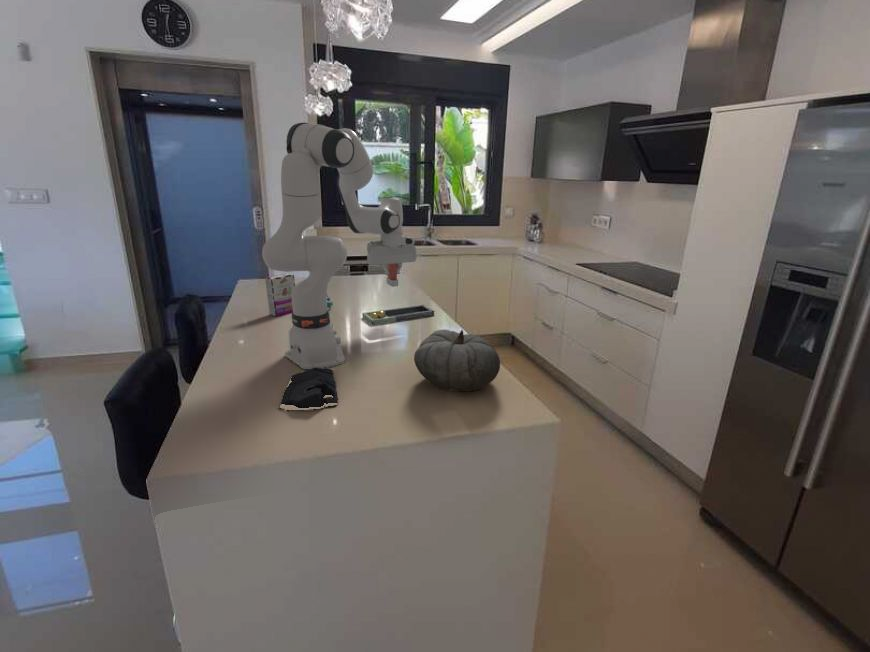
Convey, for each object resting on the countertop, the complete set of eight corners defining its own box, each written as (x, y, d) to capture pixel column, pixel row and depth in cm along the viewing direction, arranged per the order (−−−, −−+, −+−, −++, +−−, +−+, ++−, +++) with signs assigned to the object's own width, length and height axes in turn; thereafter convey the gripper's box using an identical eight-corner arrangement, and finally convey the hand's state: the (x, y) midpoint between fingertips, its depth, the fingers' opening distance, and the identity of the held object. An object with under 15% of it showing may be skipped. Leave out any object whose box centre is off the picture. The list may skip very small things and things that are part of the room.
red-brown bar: (398, 286, 182) (398, 261, 179) (392, 286, 181) (391, 262, 178) (392, 282, 187) (392, 258, 184) (386, 283, 186) (385, 259, 183)
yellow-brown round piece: (386, 318, 185) (386, 310, 186) (378, 316, 183) (378, 308, 185) (383, 321, 188) (383, 313, 189) (375, 319, 186) (375, 311, 188)
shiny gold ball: (377, 323, 183) (380, 314, 183) (370, 320, 181) (372, 312, 181) (374, 321, 186) (377, 313, 186) (367, 319, 184) (369, 311, 184)
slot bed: (434, 317, 192) (434, 310, 191) (395, 323, 183) (395, 316, 182) (423, 311, 200) (423, 304, 199) (385, 316, 192) (385, 310, 191)
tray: (395, 324, 183) (395, 317, 182) (372, 327, 178) (372, 320, 177) (385, 316, 192) (384, 309, 191) (362, 319, 187) (362, 312, 187)
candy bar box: (290, 308, 200) (287, 272, 195) (298, 311, 198) (294, 274, 192) (268, 314, 192) (264, 276, 187) (275, 317, 189) (271, 278, 184)
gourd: (423, 400, 117) (428, 334, 115) (403, 375, 141) (406, 320, 139) (511, 398, 125) (517, 336, 122) (477, 375, 148) (482, 323, 146)
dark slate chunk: (340, 374, 139) (339, 360, 137) (337, 410, 118) (336, 394, 117) (288, 377, 136) (287, 363, 135) (276, 414, 116) (274, 398, 114)
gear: (303, 309, 195) (310, 289, 199) (306, 315, 200) (313, 295, 204) (328, 313, 194) (335, 293, 199) (330, 319, 200) (337, 300, 204)
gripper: (369, 242, 171) (371, 278, 175) (418, 239, 180) (418, 273, 185) (364, 240, 176) (365, 275, 180) (411, 237, 185) (411, 270, 190)
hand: (392, 274), depth 183 cm, fingers closed on red-brown bar, 3 cm apart
